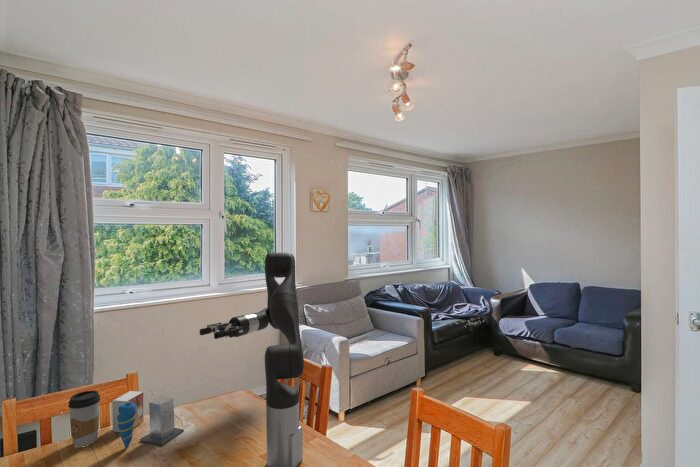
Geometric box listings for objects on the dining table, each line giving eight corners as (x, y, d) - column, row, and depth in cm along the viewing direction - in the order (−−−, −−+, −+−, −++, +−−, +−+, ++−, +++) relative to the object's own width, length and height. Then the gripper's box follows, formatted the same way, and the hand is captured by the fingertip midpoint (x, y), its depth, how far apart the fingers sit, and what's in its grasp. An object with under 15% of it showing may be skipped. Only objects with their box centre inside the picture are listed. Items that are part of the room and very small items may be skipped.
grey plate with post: (183, 433, 127) (183, 412, 127) (162, 447, 119) (162, 425, 119) (162, 428, 130) (161, 408, 130) (139, 443, 122) (139, 421, 122)
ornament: (119, 445, 120) (118, 397, 120) (138, 441, 122) (137, 394, 121) (116, 454, 115) (115, 404, 115) (135, 450, 117) (134, 401, 117)
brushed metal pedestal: (174, 431, 126) (173, 398, 126) (161, 439, 122) (160, 404, 121) (163, 428, 128) (162, 395, 128) (150, 436, 124) (149, 402, 123)
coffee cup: (62, 447, 119) (61, 399, 118) (87, 434, 127) (87, 388, 126) (82, 452, 116) (81, 402, 116) (107, 437, 124) (106, 391, 124)
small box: (126, 433, 127) (126, 401, 127) (112, 432, 128) (111, 400, 128) (144, 421, 135) (143, 391, 134) (130, 420, 136) (129, 390, 136)
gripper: (232, 313, 154) (195, 321, 141) (256, 317, 146) (219, 326, 132) (232, 332, 154) (195, 341, 141) (256, 337, 146) (219, 348, 132)
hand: (207, 334), depth 137 cm, fingers open, 8 cm apart
